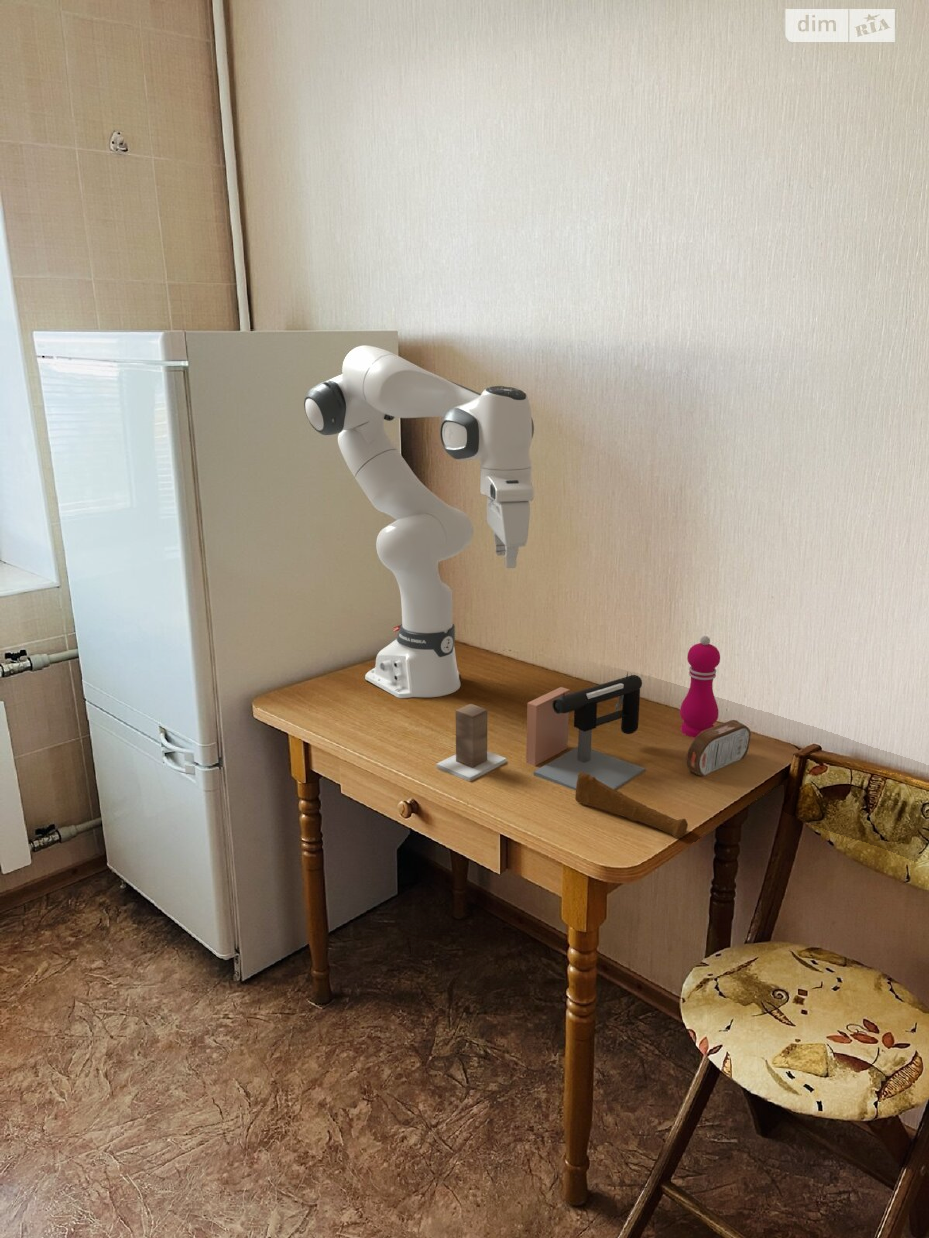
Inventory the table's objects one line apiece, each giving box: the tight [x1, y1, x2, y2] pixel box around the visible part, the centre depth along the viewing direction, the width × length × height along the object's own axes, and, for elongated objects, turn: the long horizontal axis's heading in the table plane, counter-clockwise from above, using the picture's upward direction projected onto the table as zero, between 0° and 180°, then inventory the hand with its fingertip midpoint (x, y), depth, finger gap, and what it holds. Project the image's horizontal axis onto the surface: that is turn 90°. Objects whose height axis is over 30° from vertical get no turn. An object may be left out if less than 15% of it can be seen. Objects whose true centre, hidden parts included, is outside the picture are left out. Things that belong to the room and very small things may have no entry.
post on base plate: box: [435, 703, 507, 782], centre depth 165 cm, size 8×10×11 cm
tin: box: [685, 719, 752, 777], centre depth 164 cm, size 15×3×8 cm, turn 127°
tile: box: [525, 686, 571, 767], centre depth 168 cm, size 2×10×12 cm, turn 138°
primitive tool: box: [574, 773, 689, 839], centre depth 146 cm, size 19×6×4 cm
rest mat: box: [533, 745, 646, 791], centre depth 163 cm, size 14×14×1 cm
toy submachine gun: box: [552, 671, 643, 763], centre depth 166 cm, size 3×20×16 cm, turn 125°
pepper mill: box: [679, 635, 721, 739], centre depth 176 cm, size 7×7×20 cm
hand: (505, 560), depth 165 cm, fingers open, 8 cm apart
